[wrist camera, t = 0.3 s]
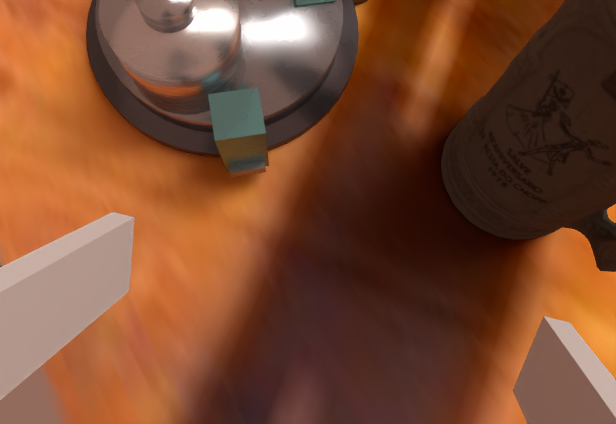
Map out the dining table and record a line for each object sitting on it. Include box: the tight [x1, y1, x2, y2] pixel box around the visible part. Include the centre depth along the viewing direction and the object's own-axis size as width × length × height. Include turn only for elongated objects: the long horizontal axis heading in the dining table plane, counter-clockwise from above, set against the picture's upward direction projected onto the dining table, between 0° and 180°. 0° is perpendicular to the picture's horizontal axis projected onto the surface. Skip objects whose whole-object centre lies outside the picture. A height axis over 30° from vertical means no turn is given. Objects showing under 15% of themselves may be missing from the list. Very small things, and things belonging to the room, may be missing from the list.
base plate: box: [86, 0, 358, 157], centre depth 34 cm, size 21×21×1 cm
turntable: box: [95, 0, 343, 177], centre depth 31 cm, size 22×18×6 cm
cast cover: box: [99, 0, 246, 115], centre depth 27 cm, size 8×8×7 cm
